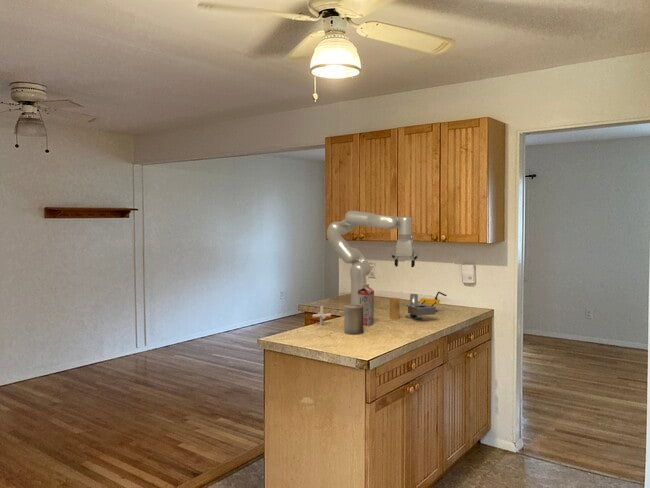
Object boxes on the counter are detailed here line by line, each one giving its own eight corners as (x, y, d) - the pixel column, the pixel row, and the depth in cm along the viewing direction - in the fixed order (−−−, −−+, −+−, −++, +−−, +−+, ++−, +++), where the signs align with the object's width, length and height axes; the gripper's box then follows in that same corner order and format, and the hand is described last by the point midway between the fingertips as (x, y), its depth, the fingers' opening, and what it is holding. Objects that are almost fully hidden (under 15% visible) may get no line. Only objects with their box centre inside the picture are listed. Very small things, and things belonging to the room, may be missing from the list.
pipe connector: (314, 326, 268) (315, 308, 267) (310, 323, 277) (310, 305, 277) (332, 326, 271) (333, 307, 270) (327, 322, 280) (328, 304, 280)
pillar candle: (367, 332, 255) (367, 303, 254) (354, 335, 248) (354, 305, 248) (353, 329, 262) (353, 301, 261) (340, 332, 255) (340, 303, 255)
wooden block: (393, 319, 290) (393, 299, 290) (389, 318, 294) (389, 298, 293) (399, 319, 292) (399, 298, 291) (395, 317, 295) (395, 297, 295)
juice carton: (373, 324, 276) (374, 284, 275) (368, 326, 270) (368, 285, 269) (362, 323, 279) (363, 283, 278) (357, 325, 274) (357, 284, 273)
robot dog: (445, 314, 309) (445, 292, 308) (417, 311, 318) (417, 290, 317) (447, 312, 314) (448, 291, 313) (419, 310, 323) (420, 289, 322)
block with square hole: (417, 322, 282) (418, 297, 281) (400, 317, 298) (400, 293, 297) (435, 321, 286) (435, 296, 286) (417, 315, 303) (417, 292, 302)
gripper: (421, 237, 295) (420, 267, 296) (392, 237, 302) (392, 265, 303) (417, 238, 288) (417, 268, 289) (388, 237, 295) (388, 266, 296)
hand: (404, 266), depth 296 cm, fingers open, 9 cm apart
